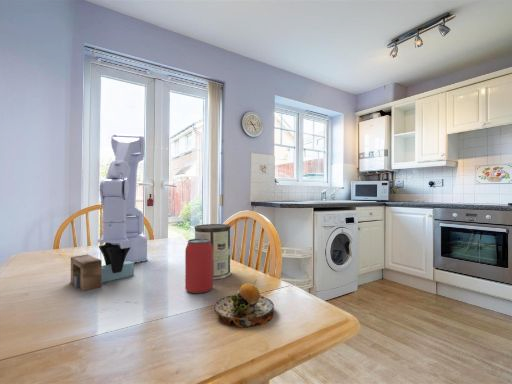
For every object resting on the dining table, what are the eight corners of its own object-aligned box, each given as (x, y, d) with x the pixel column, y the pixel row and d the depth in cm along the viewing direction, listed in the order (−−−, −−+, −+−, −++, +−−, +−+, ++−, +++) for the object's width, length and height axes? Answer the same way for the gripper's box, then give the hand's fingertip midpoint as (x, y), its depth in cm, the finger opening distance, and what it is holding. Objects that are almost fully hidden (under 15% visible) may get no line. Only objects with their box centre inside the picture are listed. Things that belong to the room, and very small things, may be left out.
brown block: (87, 278, 73) (87, 254, 73) (101, 286, 67) (101, 260, 67) (70, 282, 70) (70, 257, 70) (83, 291, 64) (83, 263, 64)
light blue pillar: (128, 273, 78) (129, 260, 78) (133, 275, 76) (133, 262, 76) (73, 285, 68) (73, 271, 68) (77, 288, 66) (77, 273, 66)
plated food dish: (247, 297, 61) (247, 264, 61) (287, 314, 52) (287, 276, 52) (201, 313, 53) (201, 275, 53) (239, 337, 44) (239, 291, 44)
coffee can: (208, 267, 84) (208, 223, 84) (236, 271, 80) (236, 224, 80) (186, 277, 75) (186, 226, 75) (217, 282, 70) (217, 228, 70)
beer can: (217, 286, 67) (217, 238, 67) (204, 296, 61) (204, 243, 61) (194, 283, 69) (195, 237, 69) (179, 292, 63) (179, 241, 63)
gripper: (89, 221, 76) (88, 269, 75) (109, 225, 66) (109, 280, 66) (115, 219, 81) (115, 264, 81) (137, 222, 71) (137, 273, 71)
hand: (114, 271), depth 74 cm, fingers closed on light blue pillar, 3 cm apart
